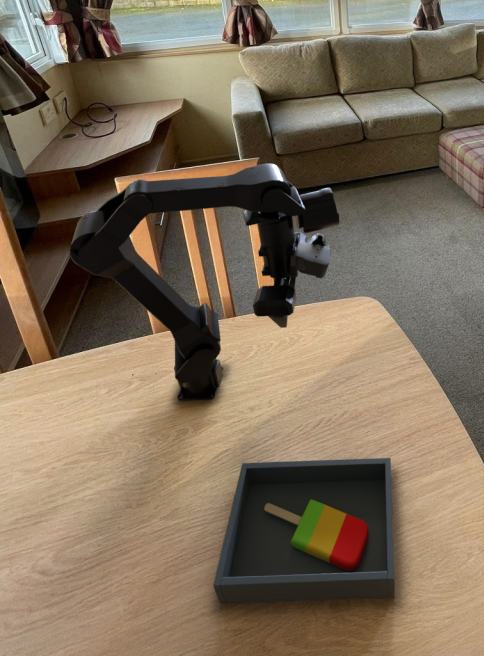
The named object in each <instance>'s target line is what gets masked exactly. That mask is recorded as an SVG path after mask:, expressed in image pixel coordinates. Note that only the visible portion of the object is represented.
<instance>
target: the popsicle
mask: <svg viewBox="0 0 484 656" xmlns="http://www.w3.org/2000/svg"><path fill="white" fill-rule="evenodd" d="M264 510H265V511H266V512H268V513H270V514H273V515H275V516H277V517H280V518H282V519H284V520H286V521H289V522H291V523H293V524H295V525H298V527H297V529H296V531H295V533H294V535H293V538H292V540H291V546H292V547H295V548H297V549H299V550H301V551H303V552H306V553H308V554H310V555H312V556H314V557H317V558H319V559H321V560H323V561H325V562H328V563H330V564H332V565H334V566H336V567H339V568H341V569H343V570H345V571H349V572H350V571H354V570H356V568H357V567H358V566H359V563H360V561H361V558H362V555H363V552H364V549H365V546H366V543H367V540H368V536H369V530H368V526H367V524H366V523H365V522H364V521H362V520H361V519H358V518H356V517H353V516H351V515H349V514H346V513H344V512H341V511H339V510H337V509H334V508H332V507H329V506H327V505H324V504H322V503H320V502H317V501H315V500H312V499H311V500H310V501H309V503H308V505H307V507H306V509H305V512H304V514H303V516H302V517H300V516H298V515H296V514H293V513H291V512H289V511H286V510H284V509H282V508H279V507H277V506H275V505H272V504H270V503H267V504H266V505H265V507H264Z"/></svg>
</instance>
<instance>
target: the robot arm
mask: <svg viewBox="0 0 484 656" xmlns="http://www.w3.org/2000/svg"><path fill="white" fill-rule="evenodd" d="M228 207H229V208H238V209H241V210H244V211H243V213H242V216H243V219H244V223H245V226H247V227H249V226H254V225H256V226H257V231H258V237H259V243H260V244H259V248H258V250H257V251H258V252H257V253H258V254H257V255H258V257H261V258H262V261H263V265H262V269H261V276H262V277H269V278H271V279H274V283H273V285H261V286H260V287H259V288H258V289H257V290H256V293H255V297H254V300H253V304H252V308H253V314H254V315H255V316H256V317H257V318H259V317H268V318H269V319H270V320H271V321H272V322H273V323H275V324H276V325H277V326H278V327H279V328H281V329H285V328H287V327H288V319H289V316H291V315H293V314H294V311H295V307H296V302H297V292H296V282H297V281H296V280H297V277H299V273H301V274H304V275H309V276H312V277H315V278H317V279H324V278H325V276H326V274H327V271H328V269H329V265H330V262H331V256H332V255H331V254H332V250H331V248H330V244H327V240H326V236H325V234H323V233H319V232H317V231H322V230H325V229H329V228H333V227H338V226H339V225H340V213H339V212H338V209H337V208H338V207H337V205H336V200H335V196H334V192H333V190H332V188H331V187H325V188H321V189H319V190H316V191H311V192H307V193H303V194H299V192H298V190H297V188H296V186H294V185H293V183H291V182H290V181H288V179H287V178H286V175H285V174H284V171H283V170H282V169H281V167H279V166H278V165H276V164H274V163H262V164H258V165H255V166H249V167H245V168H244V169H242V170H240V171H238V172H235V173H233V174H229V175H219V176H217V175H216V176H206V177H204V176H203V177H188V178H176V179H175V178H173V179H159V180H146V179H136V180H134V181H132V182H130V183H129V184H128V185H127V186H126V187H125V188H124V189H123V190H122V191H120V192H118V193H116V194H114V195H113V196H111V197H110V198H108V199H107V200H106V201H105V202H104V203H103V204H102V205H101V206H99V207H98V208H97V209H96V210H93V211H90V212H87V213H85V214H84V215H82V216H81V217H80V219H79V220H78V222H77V224H76V227H75V231H74V234H73V236H72V240H71V244H70V248H69V257H70V259H71V261H72V262H73V263H74V264H75V265H77V266H79V267H80V268H82V269H83V270H85V271H87V272H89V273H90V274H92V275H94V276H97V277H102V278H107V279H108V278H109V279H112V280H113V281H115V282H116V283H117V284H118V285H119V287H121V288H122V289H124V291H126V292H127V293H128V295H130V296H131V297H132V298H133V299H134V300H136V302H137V303H138V304H140V306H142V307H143V308H144V309H145V310H146V311H148V313H149V314H151V315H152V316H153V317H154V318H155V319H156V320H157V321H158V322H159V323H161V324H162V325H163V326H164V327H165V328H166V329H167V330H168V331H169V332H170V334H171V335H172V338H173V340H174V367H173V371H174V379H175V380H176V381H177V383H178V386H179V391H178V394H177V396H176V399H177V401H179V402H181V401H182V402H185V401H209V400H214V399H215V397H216V394H217V393H218V388H220V386H221V383H222V380H223V377H224V371H225V369H224V366H222V365H221V361H220V359H219V358H218V357H219V355H220V354H221V351H222V346H221V341H222V339H221V330H220V322H219V313H217V312H216V311H214V310H212V309H211V308H210V306H209V305H208V303H207V302H204V303H202V304H201V305H200V306H195V305H194V306H193V305H191V304H189V303H188V302H187V301H186V300H185V299H184V298H183V297H182V296H181V295H180V294H179V293H178V292H177V291H176V290H175V289H174V288H173V287H172V286H171V285H170V284H169V283H168V282H167V281H166V280H165V279H164V278H163V277H162V276H161V275H160V274H159V273H158V272H157V271H156V270H155V269H154V268H153V267H152V266H151V265H150V264H149V263H148V262H147V261H146V260H145V259H144V258H143V257H142V256H141V255H140V254H139V253H138V252H137V250H136V248H135V245H134V243H133V240H132V238H131V235H132V233H133V232H134V231H135V229H136V228H137V227H138V226H139V224H140V223H141V222H142V221H143V220H144V219H145V218H146V217H147V216H148V215H154V214H163V213H175V212H176V213H177V212H187V211H197V210H198V211H199V210H207V209H209V210H210V209H217V208H218V209H219V208H228ZM293 217H294V219H295V223H296V226H297V229H302V231H303V233H302V232H300V231H298V232H295V228H294V219H293ZM313 232H317V233H315V234H314V235H313V236H312V237H311V238H310V239H307V236H306V235H305V234H309V233H313ZM217 358H218V359H217Z"/></svg>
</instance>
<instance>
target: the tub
mask: <svg viewBox="0 0 484 656" xmlns="http://www.w3.org/2000/svg"><path fill="white" fill-rule="evenodd" d="M392 490H393V489H392V460H391V457H371V458H344V459H317V460H316V459H315V460H314V459H313V460H290V461H286V460H285V461H264V462H262V461H261V462H258V461H257V462H242V463H241V467H240V471H239V476H238V480H237V485H236V488H235V491H234V492H235V493H234V496H233V501H232V505H231V510H230V513H229V517H228V522H227V527H226V531H225V534H224V538H223V543H222V547H221V552H220V556H219V560H218V564H217V568H216V572H215V577H214V581H213V589H214V592H215V594H216V597H217V600H218V603H219V605H237V604H238V605H239V604H259V603H260V604H262V603H290V602H292V603H293V602H313V601H315V602H316V601H343V600H344V601H345V600H367V599H369V600H370V599H394V598H396V589H395V588H396V587H395V585H396V582H395V557H394V554H395V553H394V551H395V550H394V520H393V519H394V518H393V493H392V492H393V491H392ZM311 499H312V500H315V501H317V502H320V503H322V504H324V505H327V506H329V507H332V508H334V509H337V510H339V511H341V512H344V513H346V514H349V515H351V516H353V517H356V518H358V519H361V520H362V521H364V522H365V523H366V524H367V526H368V530H369V536H368V540H367V543H366V546H365V549H364V552H363V555H362V558H361V561H360V563H359V566H358V567H357V568H356V570H354V571H350V572H349V571H345V570H343V569H341V568H339V567H336V566H334V565H332V564H330V563H328V562H325V561H323V560H321V559H319V558H317V557H314V556H312V555H310V554H308V553H306V552H303V551H301V550H299V549H297V548H295V547H292V546H291V540H292V538H293V535H294V533H295V531H296V529H297V527H298V525H295V524H293V523H291V522H289V521H286V520H284V519H282V518H280V517H277V516H275V515H273V514H270V513H268V512H266V511H265V510H264V507H265V505H266V504H267V503H270V504H272V505H275V506H277V507H279V508H282V509H284V510H286V511H289V512H291V513H293V514H296V515H298V516H300V517H302V516H303V514H304V512H305V509H306V507H307V505H308V503H309V501H310V500H311Z"/></svg>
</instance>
